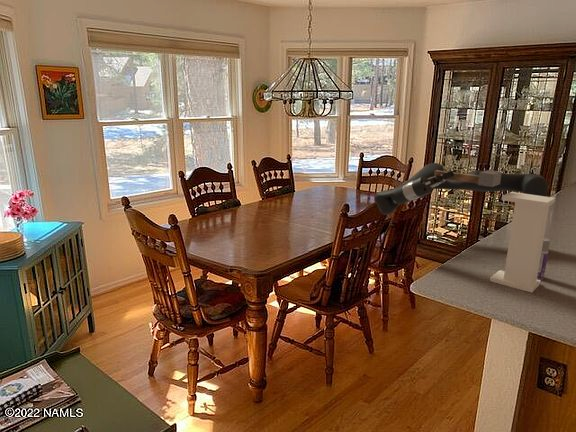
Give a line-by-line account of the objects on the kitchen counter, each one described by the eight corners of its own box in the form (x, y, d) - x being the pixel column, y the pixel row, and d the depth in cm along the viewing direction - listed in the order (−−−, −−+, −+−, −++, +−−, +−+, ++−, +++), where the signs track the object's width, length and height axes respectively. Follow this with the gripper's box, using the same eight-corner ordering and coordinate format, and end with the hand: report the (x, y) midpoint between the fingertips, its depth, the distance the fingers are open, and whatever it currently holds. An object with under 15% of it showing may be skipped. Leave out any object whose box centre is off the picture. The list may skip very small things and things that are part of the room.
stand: (489, 281, 157) (502, 195, 149) (499, 273, 164) (511, 191, 156) (532, 292, 148) (547, 202, 139) (539, 284, 155) (555, 197, 146)
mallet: (430, 178, 166) (431, 166, 165) (439, 175, 172) (440, 164, 171) (492, 186, 151) (494, 174, 150) (499, 184, 157) (501, 171, 156)
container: (538, 274, 163) (545, 237, 159) (546, 279, 159) (553, 241, 155) (526, 274, 163) (533, 237, 159) (534, 279, 159) (540, 241, 155)
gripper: (404, 182, 171) (443, 165, 159) (421, 178, 181) (458, 161, 169) (412, 200, 170) (451, 183, 158) (428, 194, 180) (466, 179, 168)
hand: (454, 172), depth 164 cm, fingers closed on mallet, 2 cm apart
